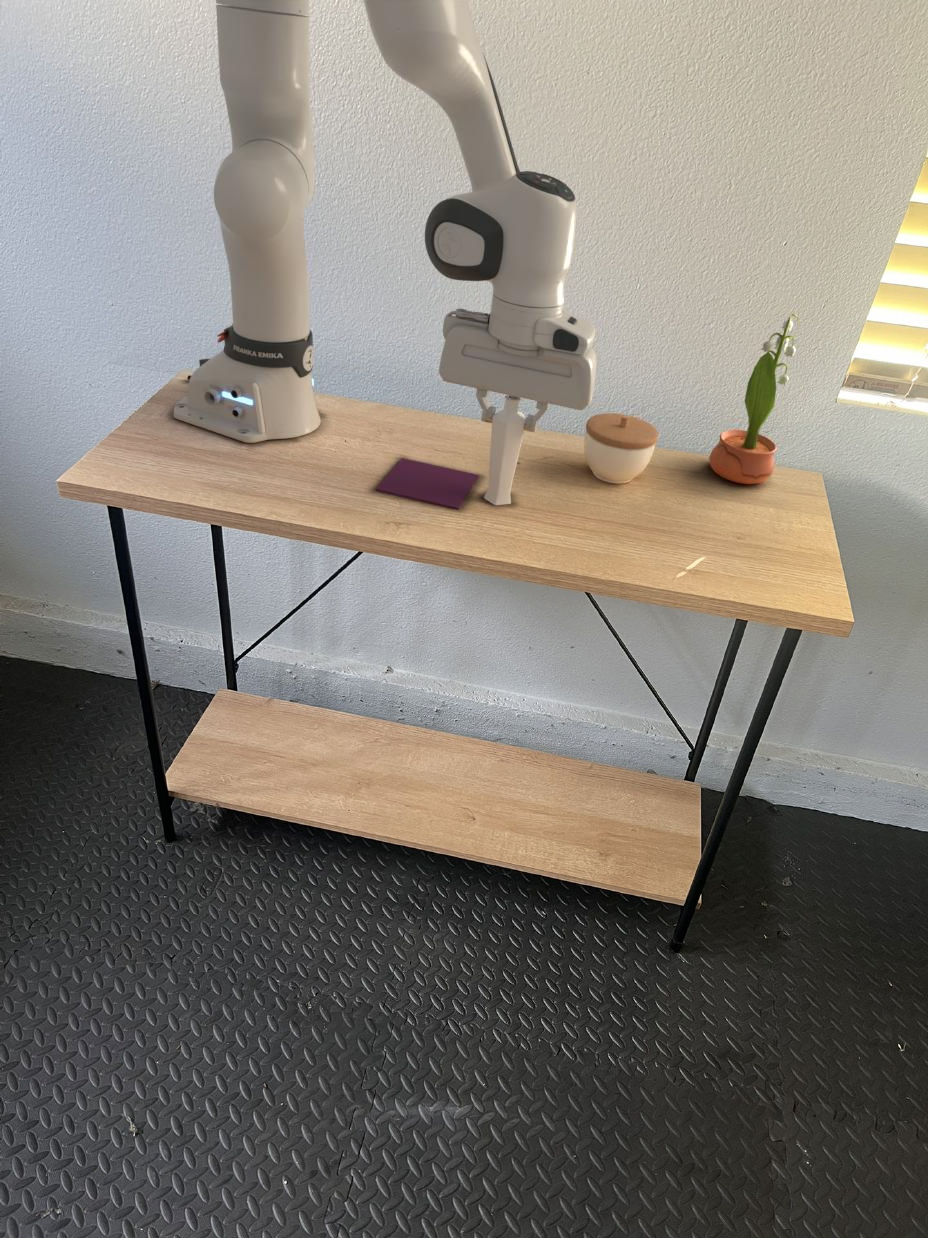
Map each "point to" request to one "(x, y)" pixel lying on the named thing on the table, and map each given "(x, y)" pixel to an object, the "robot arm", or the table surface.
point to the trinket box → (618, 446)
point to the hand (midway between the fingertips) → (509, 425)
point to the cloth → (428, 483)
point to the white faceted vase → (504, 450)
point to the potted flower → (754, 421)
